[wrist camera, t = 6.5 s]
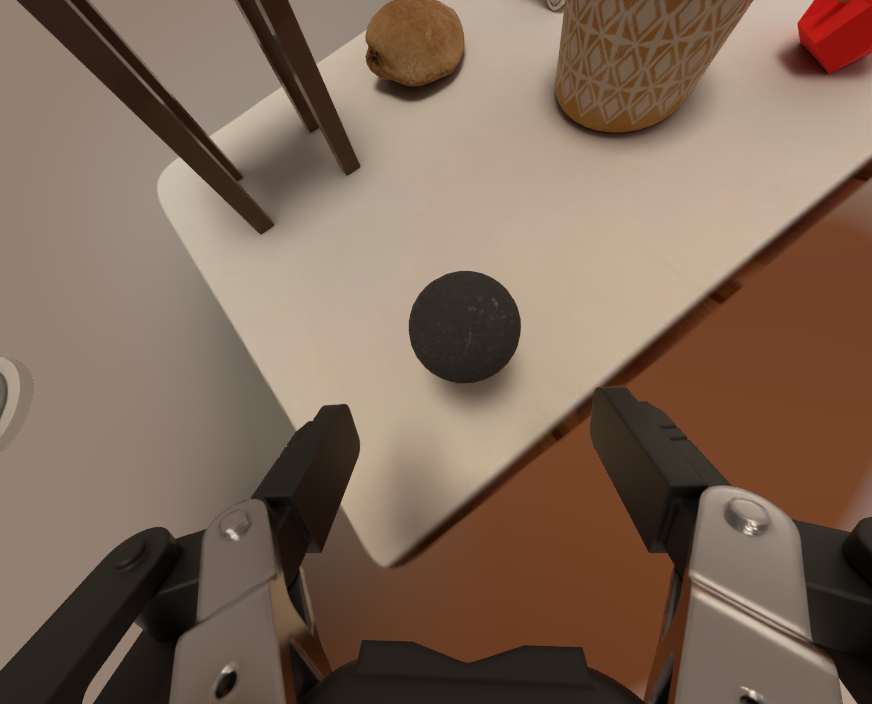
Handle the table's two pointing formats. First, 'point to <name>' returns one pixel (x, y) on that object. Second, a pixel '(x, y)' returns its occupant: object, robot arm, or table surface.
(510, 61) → the table surface
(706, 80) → the table surface
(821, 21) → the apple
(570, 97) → the planter
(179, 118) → the walnut stand
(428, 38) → the stone
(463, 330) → the light bulb
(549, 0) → the tablet stand
